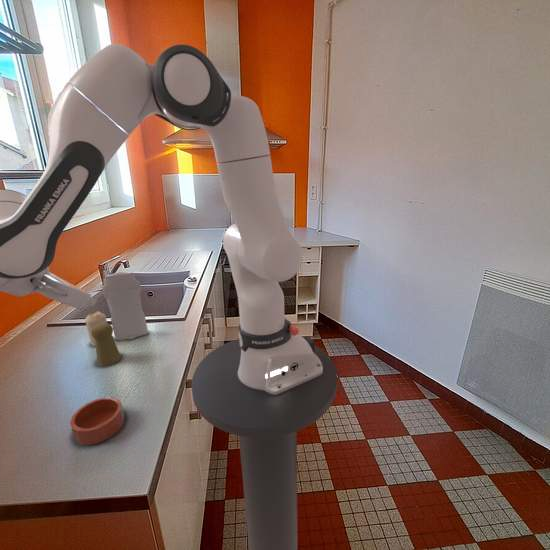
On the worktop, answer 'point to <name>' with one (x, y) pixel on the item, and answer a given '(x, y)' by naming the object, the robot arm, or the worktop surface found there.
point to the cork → (105, 345)
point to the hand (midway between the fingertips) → (83, 296)
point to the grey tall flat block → (125, 305)
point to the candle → (94, 323)
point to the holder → (97, 420)
